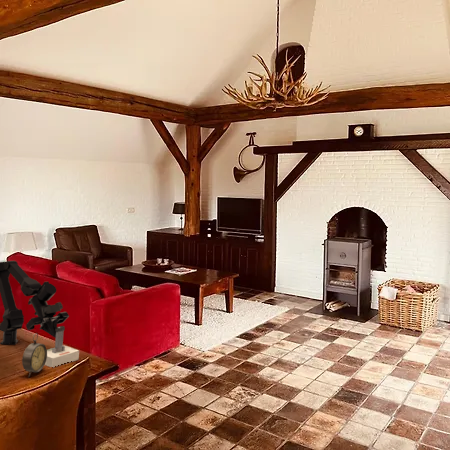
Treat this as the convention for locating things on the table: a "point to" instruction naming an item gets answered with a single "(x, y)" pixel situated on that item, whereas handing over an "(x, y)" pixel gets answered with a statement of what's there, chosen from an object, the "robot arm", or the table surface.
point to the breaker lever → (59, 337)
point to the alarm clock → (34, 357)
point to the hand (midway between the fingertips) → (56, 337)
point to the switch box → (61, 356)
